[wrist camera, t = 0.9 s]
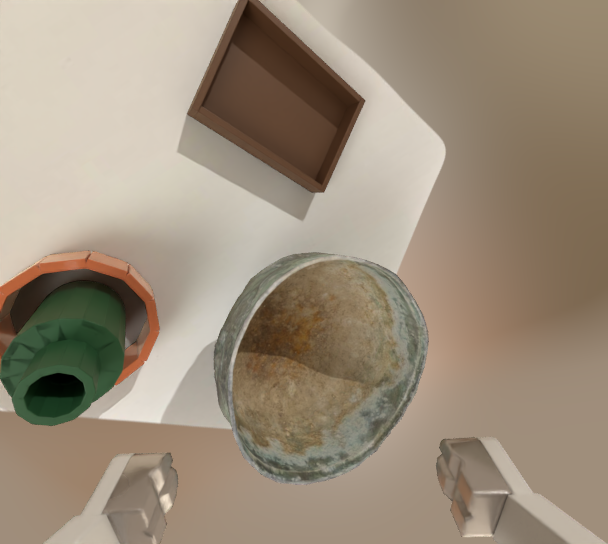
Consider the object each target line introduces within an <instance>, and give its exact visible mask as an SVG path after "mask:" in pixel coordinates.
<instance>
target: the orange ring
mask: <svg viewBox="0 0 608 544" xmlns="http://www.w3.org/2000/svg"><path fill="white" fill-rule="evenodd" d="M85 268H86V269H89V270H92V271H96V272H99V273H102V274H105V275H109V276H112V277H115V278H118V279H121V280H123V281H124V282H125V283H126V284H127V285H128V286H129V287H130V288H131V289H132V290H133V291H134V292H135V293H136V294H137V295H138V296H139V297H140V298H141V299H142V300H143V301H144V302H145V306H146V312H147V319H146V321H145V324H144V326H143V328H142V330H141V332H140V335H139V337H138V339H137V341H136V342H135V343H133V344H132V345H131V346H129V347H128V348H127V349H126V350H125V356H124V364H123V371H122V373H121V375H120V377H119V378H118V380H117V381H116V383H115V385H118V384H119V383H120V382H121V381H123V380H124V379H125V378H127V377H128V376H129V375H130V374H132V373H133V372H134V371H135V370H137V369H138V368H139V367H140V366H142V365H143V364H144V361H147V359H148V357H149V355H150V352H151V350H152V348H153V346H154V343H155V341H156V339H157V337H158V335H159V330H160V328H159V322H158V316H157V310H156V304H155V299H154V295H153V291H152V289H151V286H150V285H149V284H148V283H147V282H146V281H145V280H144V278H143V277H142V276H141V275H140V274H139V273H138V272H137V271H136V270H135V269H134V268H133V267H132V266H131V265H130V264H129V265H128V263H127V262H125V261H122V260H119V259H116V258H113V257H110V256H107V255H104V254H101V253H98V252H95V251H93V252H92V253H91V251H80V252H70V253H61V254H51V255H49V256H45V257H44V258H42V259H41V260H39V261H37V262H36V263H34V264H33V265H31V266H30V267H28V268H26V269H25V270H23V271H22V272H20V273H18V274H17V275H15V276H14V277H12V278H11V279H10V280H8V281H7V282H6V283H4V284H3V285H1V286H0V364H1V358H2V356H3V354H4V353H5V351H6V350H7V348H8V347H9V345H10V343H11V342H12V340H13V339H14V338H15V337H16V332H15V329H14V326H13V322H12V319H11V316H10V311H11V309H12V306H13V304H14V302H15V300H16V297H17V295H18V293H19V291H20V289H21V287H23V286H25V285H26V284H28V283H29V282H31V281H32V280H34V279H35V278H37V277H39V276H40V275H42V274H45V273H53V272H61V271H69V270H77V269H85ZM113 387H114V386H113Z"/></svg>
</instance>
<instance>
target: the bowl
mask: <svg viewBox="0 0 608 544" xmlns="http://www.w3.org/2000/svg"><path fill="white" fill-rule="evenodd" d="M428 342H429V341H428V330H427V327H426V323H425V320H424V317H423V314H422V312H421V310H420V309H419V307H418V305H417V303H416V301H415V299H414V298H413V296H412V295H411V293H410V292H409V290H408V289H407V287H406V286H405V285H404V283H403V282H402V281H401V279H400V278H399V277H398V276H397V275H396V274H394V273H393V272H391V271H390V270H388V269H386V268H384V267H382V266H380V265H378V264H375V263H373V262H370V261H367V260H364V259H360V258H355V257H347V256H341V255H334V254H325V253H315V252H313V253H301V254H293V255H290V256H287V257H284V258H281V259H280V260H278V261H276V262H275V263H273V264H271V265H270V266H268V267H266V268H265V269H263V270H262V271H261V272H259V273H258V274H257V275H256V276H254V277H253V278H252V279H251V280H250V281H249V282H248V284H247V285H246V287H245V289H244V290H243V292H242V294H241V295H240V296H239V297H238V299H237V301H236V302H235V304H234V306H233V307H232V309H231V311H230V313H229V315H228V317H227V319H226V321H225V323H224V325H223V327H222V329H221V331H220V334H219V336H218V339H217V343H216V345H215V350H214V370H215V381H216V386H217V394H218V402H219V406H220V408H221V410H222V412H223V415H224V416H225V417H226V419H227V420H228V421H229V422H230V424H231V426H232V431H233V434H234V437H235V439H236V442H237V444H238V446H239V449H240V451H241V453H242V455H243V457H244V458H245V459H246V460H247V461H248V462H249V463H250V465H251V466H252V467H254V468H255V469H256V470H257V471H258V472H259V473H260V474H261V475H263V476H265V477H267V478H269V479H271V480H274V481H275V482H279V483H287V484H295V485H302V484H303V485H307V484H311V483H316V482H321V481H326V480H329V479H332V478H335V477H337V476H340V475H343V474H345V473H347V472H349V471H351V470H353V469H354V468H356V467H357V466H359V465H360V464H361V463H362V462H363V461H364V460H365V459H367V458H368V457H369V456H370V455H372V454H373V453H374V452H376V451H377V449H378V448H379V447H380V445H381V444H382V442H383V441H384V440H385V439H386V438H387V437H388V435H389V434H390V432H391V430H392V429H393V428H394V427H395V425H396V424H397V423H398V422H399V421H400V420H401V419H402V417H403V415H404V413H405V411H406V409H407V407H408V405H409V404H410V403H411V401H412V399H413V397H414V395H415V394H416V391H417V387H418V384H419V381H420V378H421V375H422V373H423V369H424V366H425V361H426V356H427V350H428Z"/></svg>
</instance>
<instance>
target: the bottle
mask: <svg viewBox="0 0 608 544" xmlns="http://www.w3.org/2000/svg"><path fill="white" fill-rule="evenodd" d="M125 319H126V311H125V307H124V303H123V301H122V299H121V298H120V296H119V295H118V294H117V293H116V292H115V291H114V290H113V289H111V288H110V287H108V286H106V285H104V284H101V283H98V282H94V281H76V282H71V283H68V284H65V285H63V286H60V287H59V288H57V289H55V290H54V291H53V292H52V293H51V294H49V295H48V296H47V297H46V298H45V300H44V301H43V302H42V303H41V305H40V306H39V307H38V309H37V310H36V311H35V312H34V314H33V315H32V316H31V317H30V319H29V320H28V321H27V323H26V324H25V325H24V326H23V328H22V329H21V330H20V331H19V333H18V334H17V335H16V337H15V338H14V339H13V340H12V342H11V343H10V345H9V347H8V348H7V350H6V351H5V353H4V354H3V356H2V358H1V364H0V379H1V381H2V383H3V385H4V387H5V388H6V390H7V392H8V394H9V395H10V396H11V397H12V402H13V405H14V408H15V411H16V414H17V415H18V416H20V417H22V418H23V419H25V420H26V421H28V422H29V423H31V424H35V425H49V426H53V425H58V424H61V423H64V422H68V421H71V420H73V419H75V418H77V417H78V416H79V415H80V414H82V413H83V412H84V411H85V410H87V409H88V408H89V407H90V405H91V403H92V402H94V401H96V400H98V399H99V398H100V397H101V396H103V395H104V394H105V393H106V392H108V391H109V390H110V389H112V387H113V386H114V385H115V383H116V381H117V380H118V378H119V377H120V375H121V373H122V371H123V364H124V356H125Z"/></svg>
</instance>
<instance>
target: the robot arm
mask: <svg viewBox="0 0 608 544" xmlns="http://www.w3.org/2000/svg"><path fill="white" fill-rule="evenodd" d="M439 448H440V450H441V452H442V454H441V455H440V456H439V457H438V458H437V463H436V469H437V476H438V480H439V483H440V486H441V488H442V491H443V493H444V494H445V495H446V496H447V497H448V498H449V499H450V500H451V501H452V505H451V513H452V515H453V518H454V520H455V522H456V525H457V527H458V530H459V532H460V534H461V537H481V536H483V537H484V536H493V539H494V540H495V541H496V542H497V543H498V544H607V543H605V542H604V541H603V540H601V539H600V538H599V537H597V536H596V535H595V534H593V533H592V532H590V531H589V530H588V529H586V528H585V527H584V526H582V525H581V524H580V523H578V522H577V521H576V520H574V519H573V518H571V517H570V516H569V515H567V514H566V513H565V512H563V511H562V510H561V509H559V508H558V507H557V506H555V505H554V504H552V503H551V502H550V501H549V500H547V499H546V498H544V497H543V496H542V495H540V494H539V493H538V494H537V493H536V494H535V493H533V492H532V490H531V489H530V488H529V486H528V485H527V483H526V482H525V480H524V479H523V477H522V476H521V474H520V473H519V471H518V470H517V468H516V467H515V465H514V464H513V462H512V461H511V459H510V458H509V456H508V455H507V453H506V452H505V450H504V449H503V447H502V446H501V444H500V443H499V441H498V440H497V439H496V438H494V437H482V438H475V437H471V438H456V439H443V440H442V441H441V443H440V447H439ZM172 461H173V459H172V456H171V453H144V454H143V453H142V454H117V455H116V456H115V457H114V458H113V459H112V460H111V462H110V464H109V466H108V467H107V469H106V471H105V473H104V474H103V476H102V478H101V480H100V481H99V483H98V485H97V487H96V488H95V490H94V492H93V494H92V495H91V497H90V499H89V501H88V502H87V504H86V506H85V508H84V509H83V511H82V513H81V515H79V516H74V517H73V518H72V519H70V520H69V521H68V522H67V523H66V524H65V525H64V526H62V527H61V528H60V529H59V530H58V531H57V532H55V533H54V534H53V535H52V536H51V537H50V538H49V539H47V540H46V541H45V542H44V543H43V544H160V543H161V540H162V537H163V534H164V531H165V528H166V525H167V523H166V519H165V516H164V515H165V514H166V513H167V512H168V511H169V510H170V509H171V508H172V507H173V504H174V500H175V497H176V493H177V487H178V476H177V472H176V470H175V469H174V468H172V467H171V464H172Z"/></svg>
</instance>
